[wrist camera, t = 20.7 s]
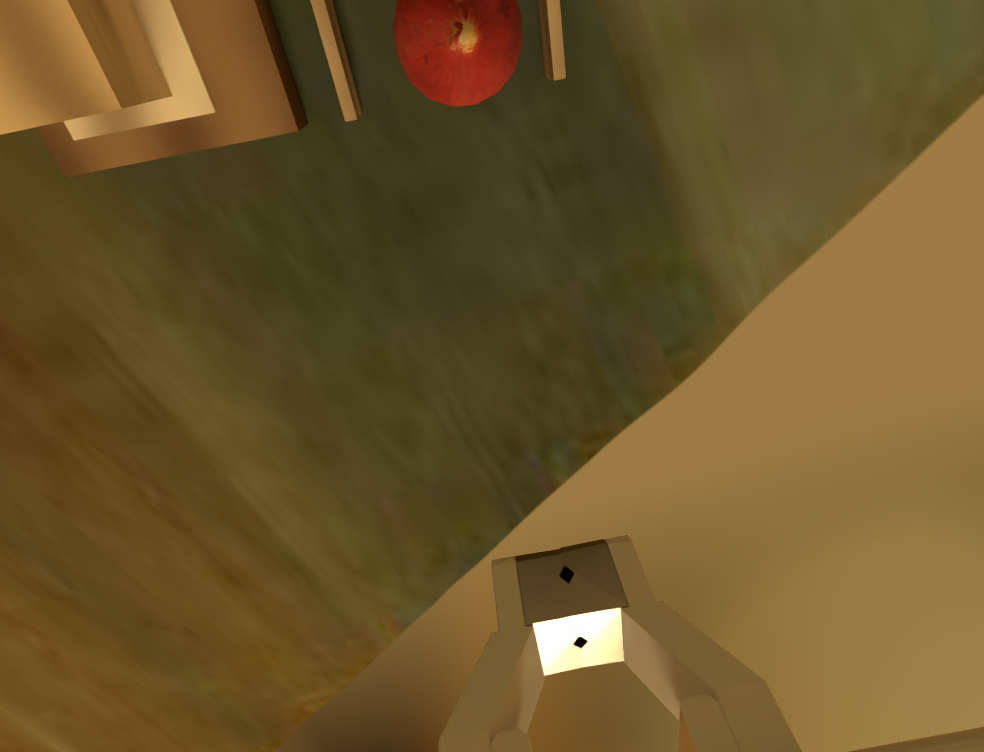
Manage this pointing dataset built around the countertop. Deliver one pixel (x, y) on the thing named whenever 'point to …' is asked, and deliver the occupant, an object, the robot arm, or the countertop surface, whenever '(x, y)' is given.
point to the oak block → (72, 61)
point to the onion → (458, 47)
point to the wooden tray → (223, 84)
